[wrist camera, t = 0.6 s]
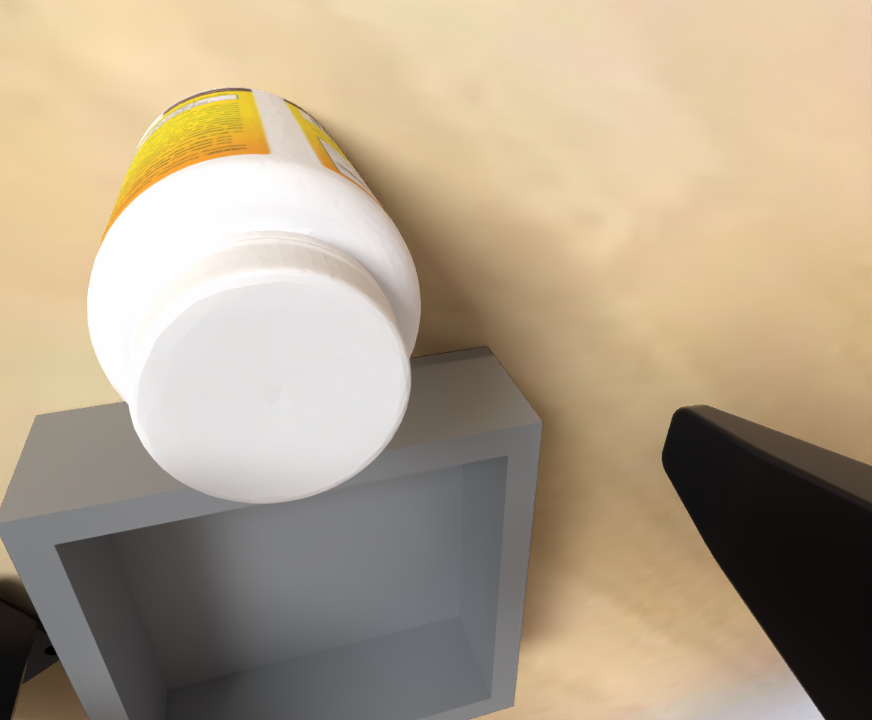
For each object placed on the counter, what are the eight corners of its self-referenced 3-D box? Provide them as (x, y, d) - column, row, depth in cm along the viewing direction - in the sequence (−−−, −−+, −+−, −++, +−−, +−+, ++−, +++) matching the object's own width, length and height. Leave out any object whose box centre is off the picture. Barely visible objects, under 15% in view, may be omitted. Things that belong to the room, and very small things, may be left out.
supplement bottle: (110, 256, 17) (19, 526, 9) (160, 43, 15) (101, 136, 7) (311, 309, 20) (385, 560, 11) (377, 131, 18) (527, 279, 9)
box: (475, 613, 30) (513, 706, 26) (147, 698, 26) (136, 818, 23) (487, 346, 22) (542, 421, 19) (36, 415, 19) (-7, 523, 15)
